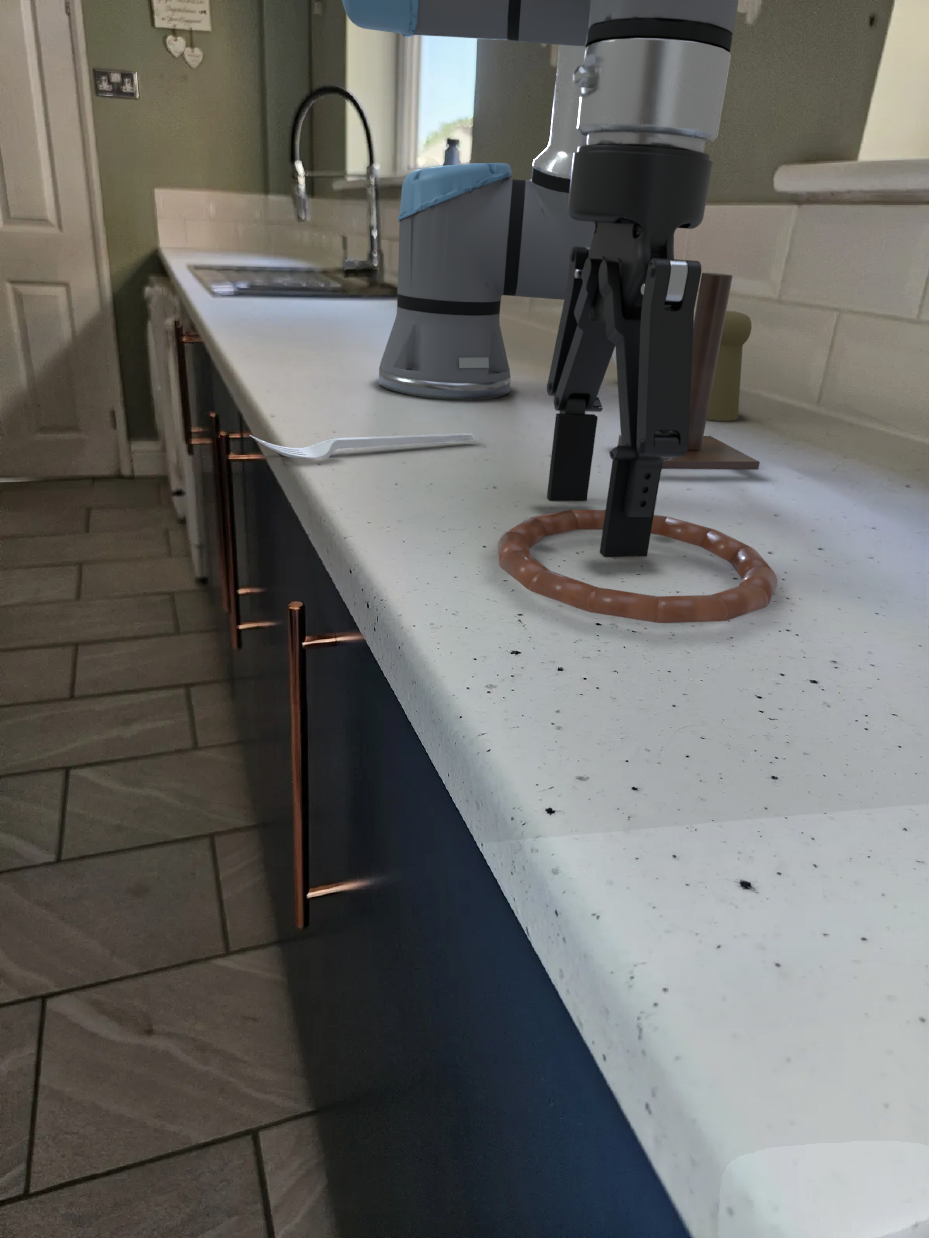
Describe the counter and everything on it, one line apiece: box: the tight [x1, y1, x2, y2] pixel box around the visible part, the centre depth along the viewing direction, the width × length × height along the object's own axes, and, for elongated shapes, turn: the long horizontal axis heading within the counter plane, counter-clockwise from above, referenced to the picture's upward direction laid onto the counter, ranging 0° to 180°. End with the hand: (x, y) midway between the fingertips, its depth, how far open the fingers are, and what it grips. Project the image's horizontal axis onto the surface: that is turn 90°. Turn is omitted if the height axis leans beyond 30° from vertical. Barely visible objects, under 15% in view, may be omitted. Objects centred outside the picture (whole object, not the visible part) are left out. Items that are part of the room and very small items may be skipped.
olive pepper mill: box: [706, 309, 753, 422], centre depth 95 cm, size 6×6×11 cm
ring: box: [497, 509, 778, 624], centre depth 50 cm, size 16×16×2 cm
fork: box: [249, 432, 474, 459], centre depth 72 cm, size 3×20×2 cm, turn 122°
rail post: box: [617, 272, 761, 470], centre depth 73 cm, size 9×9×16 cm
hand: (591, 533), depth 57 cm, fingers open, 10 cm apart
